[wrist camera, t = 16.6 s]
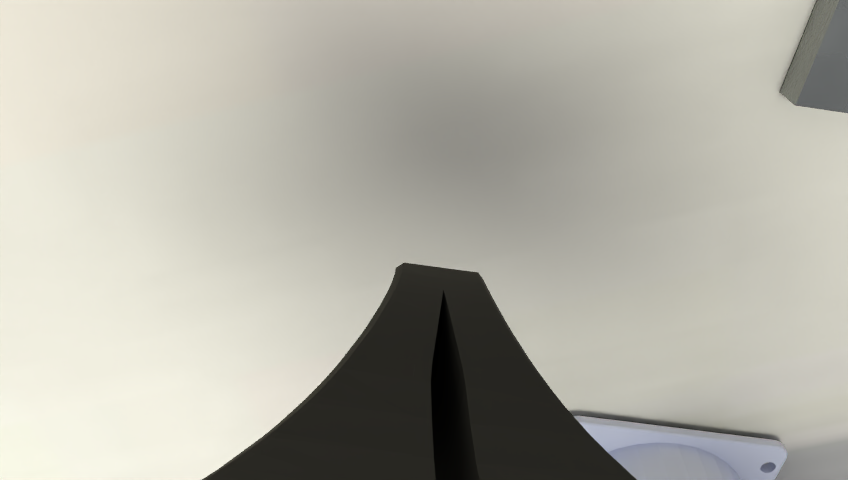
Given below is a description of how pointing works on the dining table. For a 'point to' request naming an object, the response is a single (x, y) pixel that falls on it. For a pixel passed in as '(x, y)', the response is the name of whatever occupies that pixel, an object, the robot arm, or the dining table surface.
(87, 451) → the dining table surface
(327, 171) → the dining table surface
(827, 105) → the vise
